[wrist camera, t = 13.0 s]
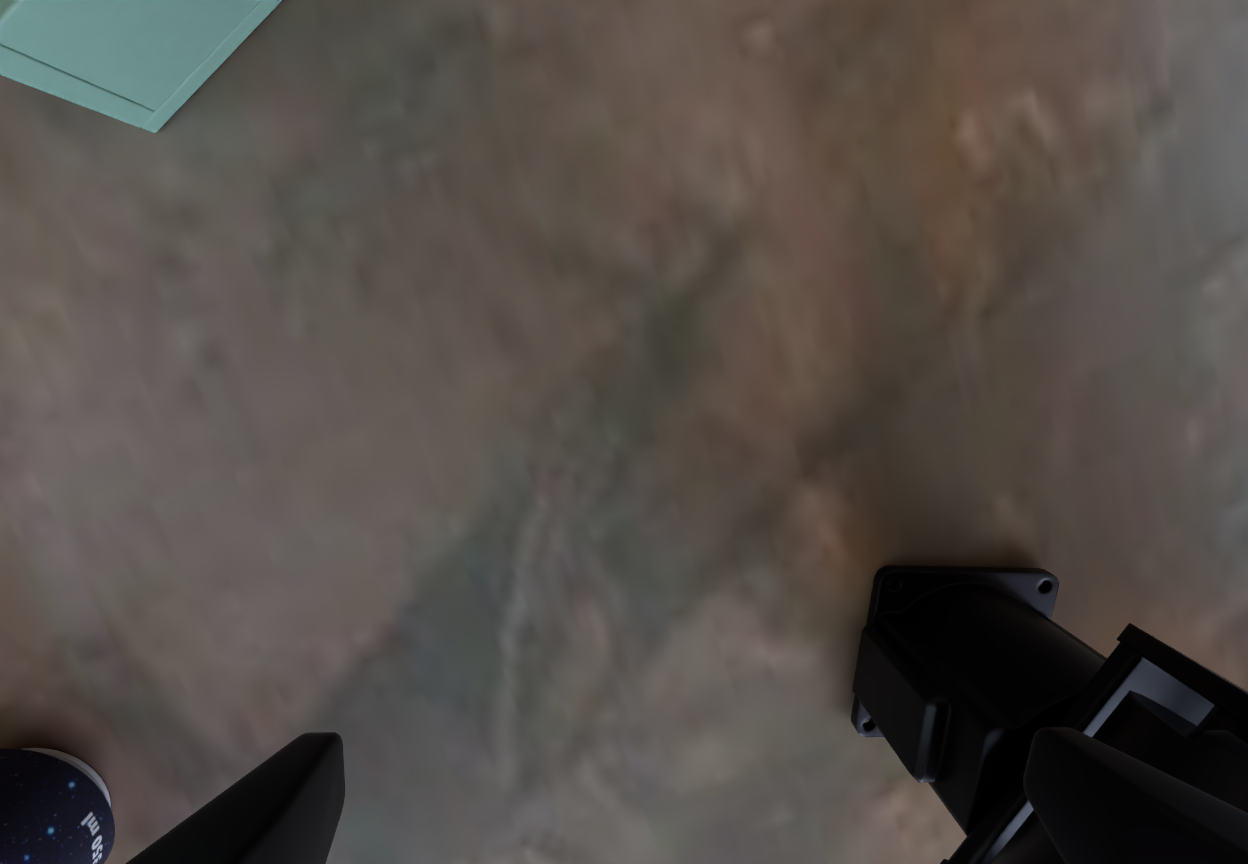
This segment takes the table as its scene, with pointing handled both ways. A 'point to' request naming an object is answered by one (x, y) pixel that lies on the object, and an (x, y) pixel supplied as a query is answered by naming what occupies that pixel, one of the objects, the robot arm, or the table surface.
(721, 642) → the table surface
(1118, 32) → the table surface
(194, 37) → the lunchbox
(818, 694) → the table surface
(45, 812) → the beverage can
